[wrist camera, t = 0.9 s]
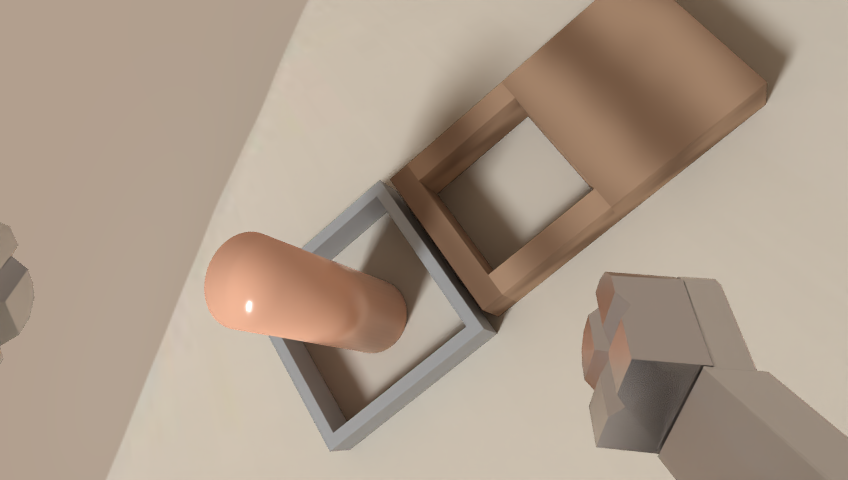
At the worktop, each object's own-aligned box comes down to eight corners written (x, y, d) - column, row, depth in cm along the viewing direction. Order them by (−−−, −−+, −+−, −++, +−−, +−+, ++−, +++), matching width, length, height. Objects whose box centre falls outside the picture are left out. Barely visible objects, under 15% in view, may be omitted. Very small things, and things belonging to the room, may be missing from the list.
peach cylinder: (382, 265, 48) (258, 212, 36) (420, 322, 46) (301, 287, 34) (330, 310, 49) (190, 273, 37) (364, 368, 47) (228, 349, 35)
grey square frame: (396, 190, 49) (379, 180, 47) (497, 333, 44) (483, 329, 42) (268, 301, 52) (247, 296, 49) (349, 449, 46) (329, 451, 44)
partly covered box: (641, -8, 45) (635, -35, 42) (765, 104, 40) (767, 82, 38) (409, 192, 49) (390, 179, 46) (498, 316, 44) (482, 310, 41)
